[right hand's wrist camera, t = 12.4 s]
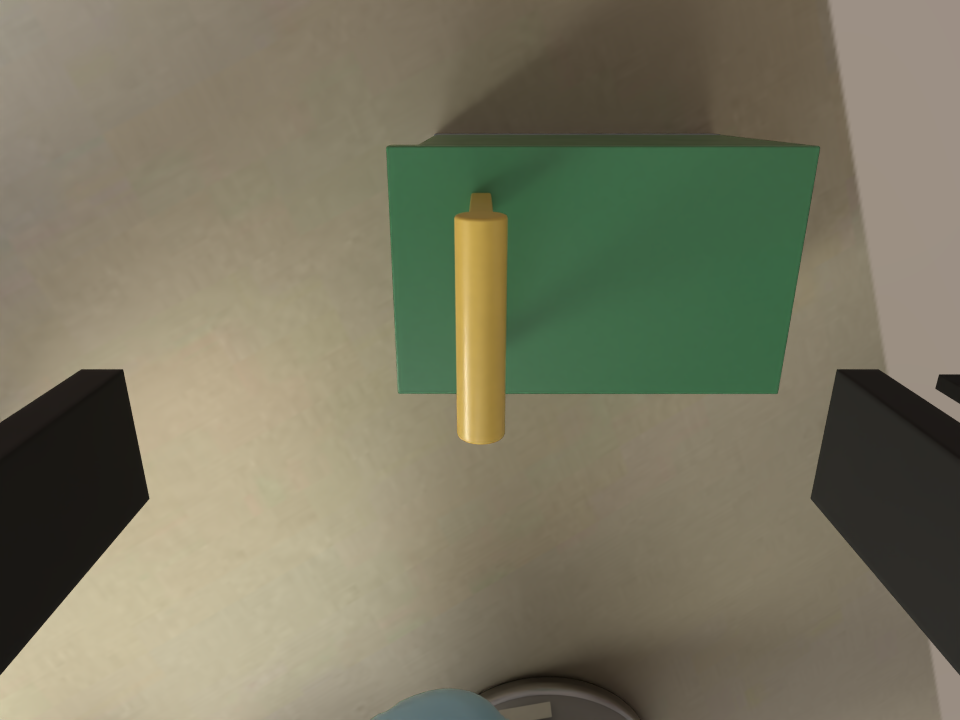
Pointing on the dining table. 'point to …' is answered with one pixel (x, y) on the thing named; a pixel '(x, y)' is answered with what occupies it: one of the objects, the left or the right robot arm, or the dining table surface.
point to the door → (593, 270)
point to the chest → (595, 139)
